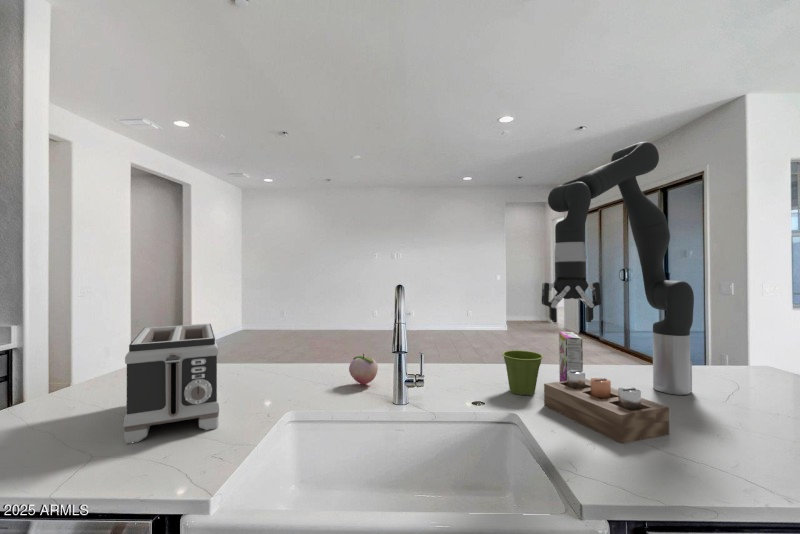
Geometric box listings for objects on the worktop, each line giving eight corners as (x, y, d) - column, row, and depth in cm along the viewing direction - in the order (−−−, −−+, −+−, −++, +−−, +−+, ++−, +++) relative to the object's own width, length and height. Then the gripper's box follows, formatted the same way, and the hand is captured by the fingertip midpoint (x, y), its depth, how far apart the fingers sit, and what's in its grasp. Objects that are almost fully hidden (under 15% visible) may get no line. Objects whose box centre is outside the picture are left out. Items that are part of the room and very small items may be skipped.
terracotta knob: (600, 391, 99) (600, 376, 99) (615, 396, 94) (614, 380, 94) (586, 393, 97) (586, 377, 97) (600, 398, 93) (600, 382, 93)
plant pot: (499, 395, 113) (499, 356, 114) (504, 384, 124) (504, 349, 124) (542, 400, 109) (542, 360, 109) (544, 388, 120) (544, 352, 120)
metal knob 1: (576, 382, 106) (576, 368, 106) (589, 387, 102) (589, 372, 102) (563, 384, 105) (563, 369, 105) (575, 389, 100) (575, 374, 100)
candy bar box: (558, 381, 127) (558, 331, 127) (574, 382, 126) (574, 331, 126) (565, 392, 116) (565, 337, 116) (583, 393, 115) (583, 337, 115)
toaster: (119, 455, 78) (119, 349, 78) (140, 403, 108) (140, 327, 108) (220, 436, 86) (220, 341, 86) (213, 393, 117) (213, 322, 117)
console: (585, 400, 109) (585, 378, 109) (669, 434, 87) (668, 407, 87) (544, 405, 105) (544, 383, 105) (621, 443, 82) (621, 415, 82)
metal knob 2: (628, 401, 91) (628, 384, 91) (645, 407, 87) (645, 390, 87) (613, 403, 90) (613, 386, 90) (630, 410, 85) (630, 392, 85)
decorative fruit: (383, 383, 125) (383, 352, 125) (368, 390, 118) (368, 357, 118) (360, 379, 130) (360, 349, 130) (344, 385, 123) (344, 354, 123)
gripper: (593, 259, 105) (594, 320, 105) (538, 260, 107) (539, 320, 107) (604, 259, 98) (605, 324, 97) (545, 260, 99) (546, 324, 99)
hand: (571, 321), depth 102 cm, fingers open, 8 cm apart
